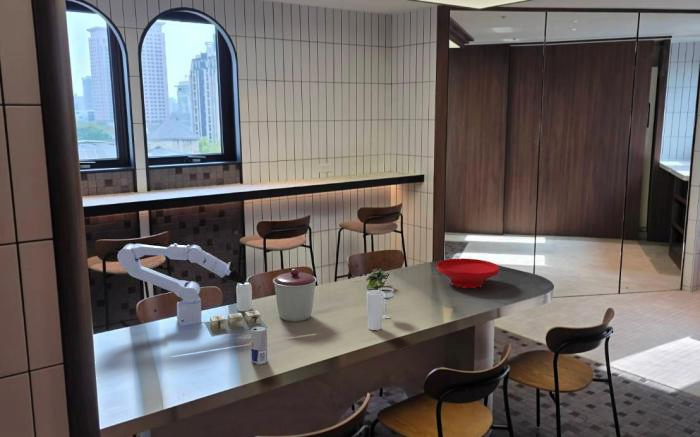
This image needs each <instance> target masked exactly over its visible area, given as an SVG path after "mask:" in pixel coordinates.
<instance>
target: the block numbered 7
mask: <svg viewBox="0 0 700 437" xmlns="http://www.w3.org/2000/svg"><path fill="white" fill-rule="evenodd" d="M244 317H245V322H246V323H247V324H248V326H249V325H256V324H261V320H262V319H261V313H260V312H259V310H249V311H244ZM260 319H261V320H260Z"/></svg>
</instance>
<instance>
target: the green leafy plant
mask: <svg viewBox="0 0 700 437" xmlns="http://www.w3.org/2000/svg"><path fill="white" fill-rule="evenodd" d="M371 271H372V272H371V273H370V274H368V276H367V278H365V282H366V283H367V282H368V283H367V285H366V289H367V290H368V289H371V288H372V289H373V288H375V287H377V286H378V285H380V287H381V288H382V287H385V283H386V281H387V279H388V278H389V276H390V272H389V271H387V272H386V271H385V270H382V268H374V269H371ZM383 280H384V281H383Z"/></svg>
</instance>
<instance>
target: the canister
mask: <svg viewBox="0 0 700 437" xmlns="http://www.w3.org/2000/svg"><path fill="white" fill-rule="evenodd" d="M317 281H318V279H317V278H316V277H315V276H313V275H312V274H310V273H307V272H300V270H299V269H298V268H292V269H291V270H290V272H286V273H281V274H279V275H277V276H276V277H274V278H273V279H272V283H273V284H274V291H275V298H276V306H277V311H278V316H280V317H279V318H281V319H282V320H283V321H286V322H293V323H294V322H302V321H306V320H308V319H309V318H310V317H311V315H312V312H313V306H314V298H315V290H316V289H315V288H316V283H317Z"/></svg>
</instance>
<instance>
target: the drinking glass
mask: <svg viewBox="0 0 700 437" xmlns="http://www.w3.org/2000/svg"><path fill="white" fill-rule="evenodd" d="M365 302H366V314H367V316H366V317H367V328H368V330H370V331H373V330H377V331H380V330H381V329H382V321H383V319H382V315H383V312H384V305H385V303H384V293H383V292H382V291H380V290H378V289H371V290H367V291H366V301H365ZM379 329H380V330H379Z"/></svg>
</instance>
